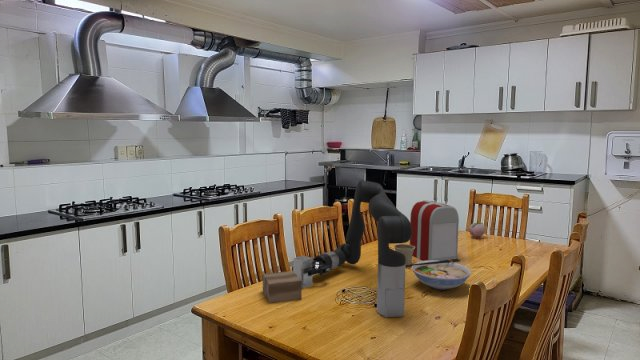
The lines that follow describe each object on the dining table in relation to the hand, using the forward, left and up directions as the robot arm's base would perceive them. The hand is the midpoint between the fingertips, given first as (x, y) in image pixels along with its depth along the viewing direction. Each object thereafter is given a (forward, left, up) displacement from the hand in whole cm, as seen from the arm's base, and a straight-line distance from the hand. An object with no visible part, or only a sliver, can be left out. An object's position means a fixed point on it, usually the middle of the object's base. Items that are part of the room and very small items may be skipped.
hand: (300, 271), depth 174 cm
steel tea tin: (+1, -1, -6) cm, 6 cm away
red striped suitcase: (+31, -68, -6) cm, 75 cm away
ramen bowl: (-8, -55, -6) cm, 56 cm away
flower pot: (+21, -50, -6) cm, 55 cm away
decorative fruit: (+64, -108, -6) cm, 126 cm away
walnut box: (-9, +8, -6) cm, 13 cm away
